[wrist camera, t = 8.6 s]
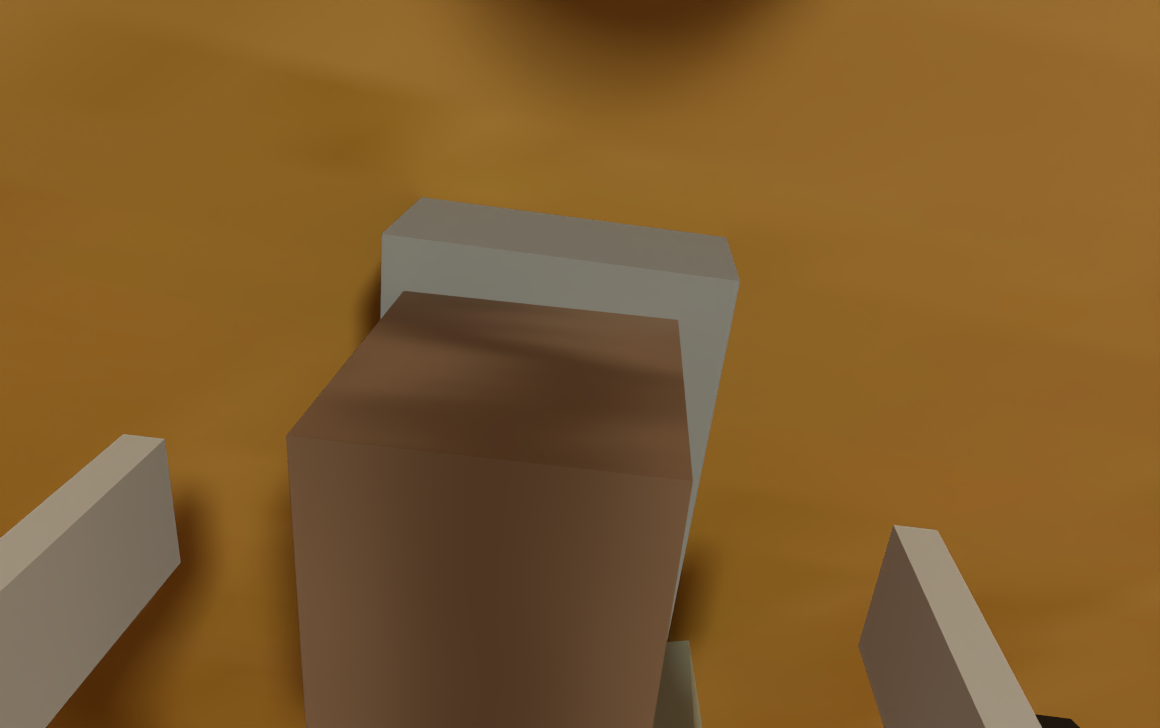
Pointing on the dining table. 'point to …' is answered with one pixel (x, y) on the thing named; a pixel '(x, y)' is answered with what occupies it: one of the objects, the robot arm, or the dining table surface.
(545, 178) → the dining table surface
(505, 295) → the grey slab
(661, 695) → the sage block
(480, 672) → the walnut block
